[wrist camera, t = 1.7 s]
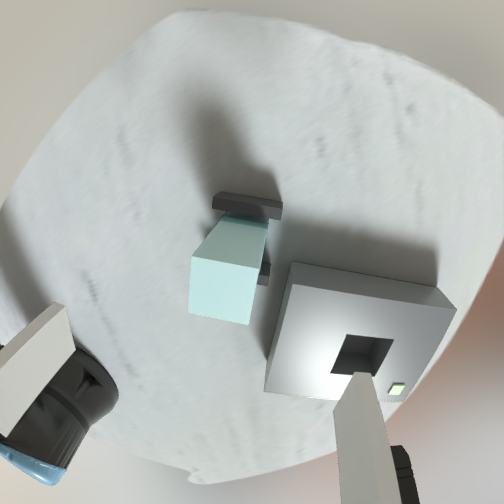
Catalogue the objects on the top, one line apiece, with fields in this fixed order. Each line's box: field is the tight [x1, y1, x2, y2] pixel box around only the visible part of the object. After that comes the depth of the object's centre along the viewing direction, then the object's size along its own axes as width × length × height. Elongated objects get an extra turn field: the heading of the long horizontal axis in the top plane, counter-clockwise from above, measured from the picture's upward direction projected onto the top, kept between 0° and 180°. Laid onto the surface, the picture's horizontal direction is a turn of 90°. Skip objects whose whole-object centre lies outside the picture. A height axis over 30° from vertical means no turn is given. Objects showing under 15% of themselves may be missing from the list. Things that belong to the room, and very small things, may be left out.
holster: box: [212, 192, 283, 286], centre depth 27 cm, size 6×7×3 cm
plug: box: [188, 211, 269, 325], centre depth 23 cm, size 4×4×12 cm
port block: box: [264, 261, 457, 402], centre depth 29 cm, size 18×14×5 cm
